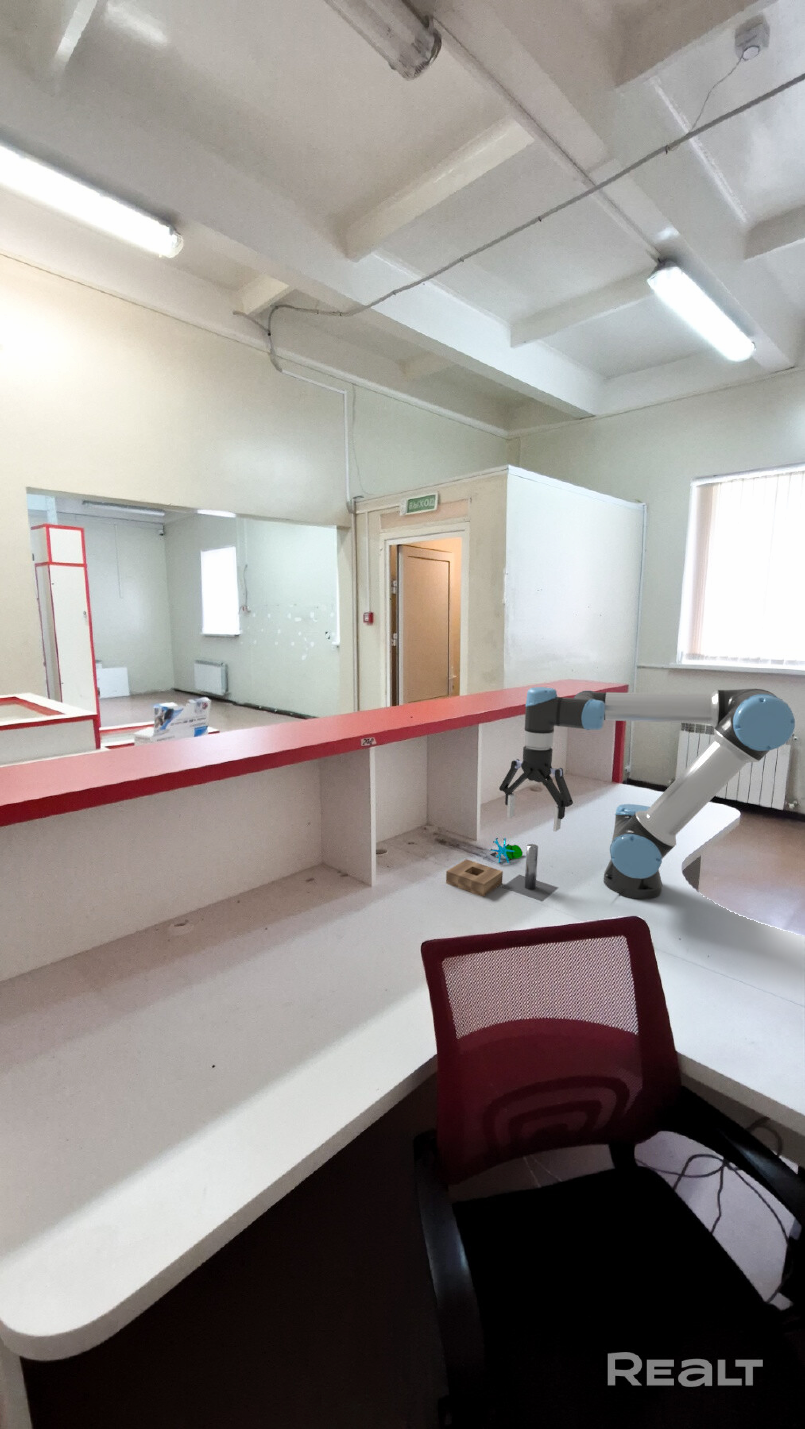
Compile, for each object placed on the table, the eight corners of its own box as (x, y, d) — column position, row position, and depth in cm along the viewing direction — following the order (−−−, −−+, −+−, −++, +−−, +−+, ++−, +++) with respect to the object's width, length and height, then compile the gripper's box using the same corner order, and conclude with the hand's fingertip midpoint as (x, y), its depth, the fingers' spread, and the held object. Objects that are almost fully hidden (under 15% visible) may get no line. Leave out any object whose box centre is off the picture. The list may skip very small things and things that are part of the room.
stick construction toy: (496, 861, 172) (493, 835, 176) (481, 866, 178) (478, 841, 181) (527, 864, 178) (523, 839, 182) (511, 869, 183) (508, 845, 187)
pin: (537, 886, 161) (540, 845, 158) (532, 890, 158) (535, 849, 156) (527, 883, 162) (530, 843, 160) (522, 887, 160) (524, 846, 158)
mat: (558, 888, 161) (558, 887, 160) (542, 902, 153) (542, 901, 153) (519, 875, 168) (519, 874, 168) (501, 888, 160) (501, 887, 160)
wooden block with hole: (502, 884, 162) (502, 871, 162) (483, 898, 155) (483, 884, 154) (465, 872, 170) (466, 859, 169) (446, 884, 162) (446, 870, 162)
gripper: (589, 752, 148) (583, 831, 152) (503, 736, 164) (499, 808, 168) (578, 757, 142) (571, 839, 146) (489, 741, 158) (485, 815, 162)
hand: (533, 823), depth 157 cm, fingers open, 13 cm apart
